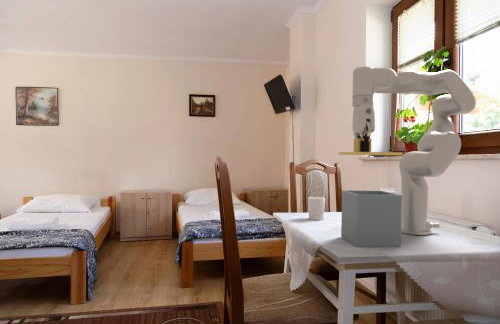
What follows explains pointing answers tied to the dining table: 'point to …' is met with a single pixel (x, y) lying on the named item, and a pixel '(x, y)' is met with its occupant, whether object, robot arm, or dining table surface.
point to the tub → (371, 218)
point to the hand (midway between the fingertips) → (362, 151)
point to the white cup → (316, 208)
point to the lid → (357, 152)
